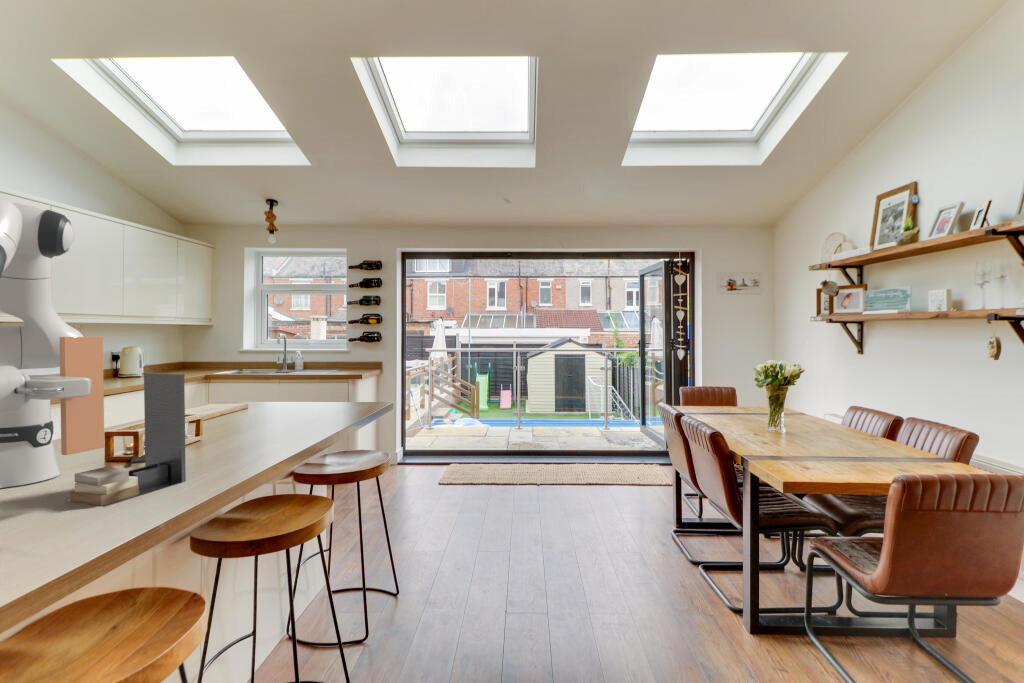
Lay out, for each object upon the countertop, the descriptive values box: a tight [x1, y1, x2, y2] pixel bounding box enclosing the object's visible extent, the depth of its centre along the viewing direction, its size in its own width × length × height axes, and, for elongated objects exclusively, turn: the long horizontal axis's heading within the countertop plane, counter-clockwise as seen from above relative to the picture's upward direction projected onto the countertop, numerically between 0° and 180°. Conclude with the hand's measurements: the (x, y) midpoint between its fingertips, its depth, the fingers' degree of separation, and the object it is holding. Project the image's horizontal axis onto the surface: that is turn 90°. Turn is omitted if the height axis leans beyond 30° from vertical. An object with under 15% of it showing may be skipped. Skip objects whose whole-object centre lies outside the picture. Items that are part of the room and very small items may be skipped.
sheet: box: [59, 336, 105, 456], centre depth 103 cm, size 7×2×24 cm, turn 162°
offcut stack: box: [69, 466, 139, 507], centre depth 108 cm, size 8×10×6 cm
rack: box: [65, 372, 187, 508], centre depth 112 cm, size 18×12×28 cm, turn 162°
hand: (84, 382), depth 103 cm, fingers closed on sheet, 2 cm apart
